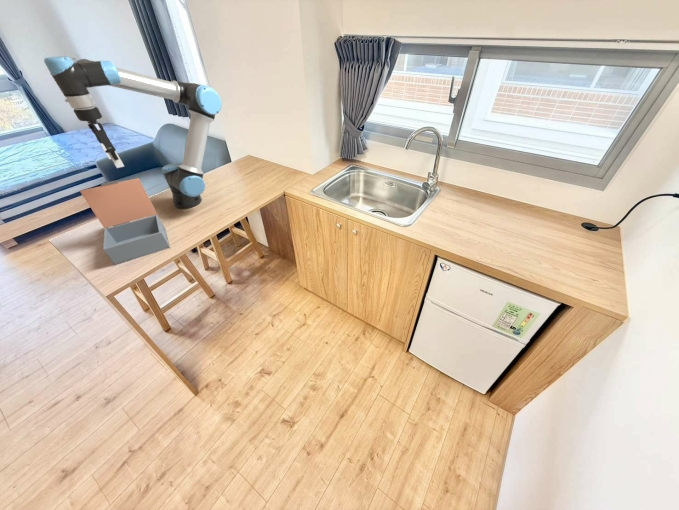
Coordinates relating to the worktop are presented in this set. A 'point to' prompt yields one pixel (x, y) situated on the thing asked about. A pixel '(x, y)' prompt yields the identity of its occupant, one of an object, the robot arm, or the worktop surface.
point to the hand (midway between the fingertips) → (116, 162)
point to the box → (135, 239)
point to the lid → (119, 202)
